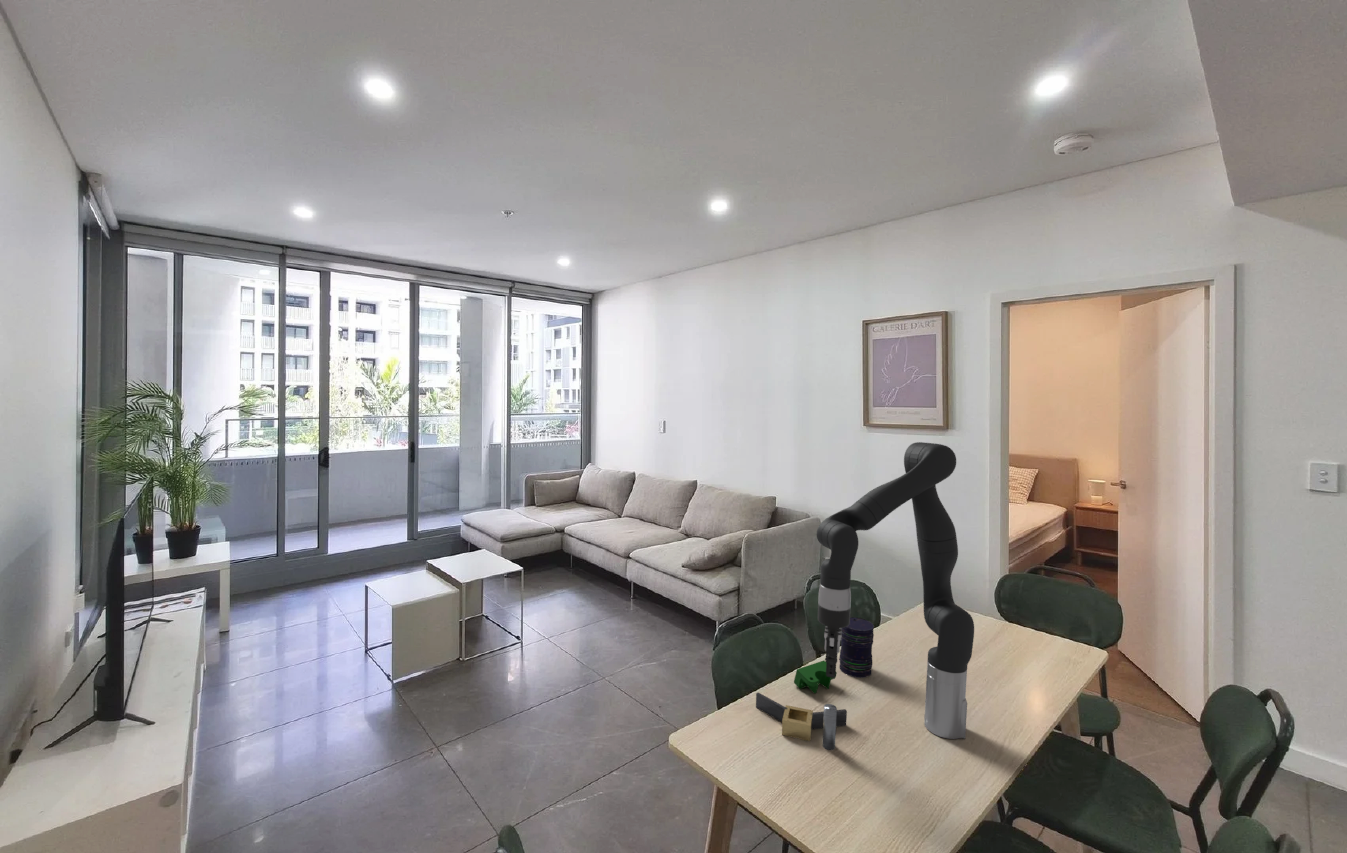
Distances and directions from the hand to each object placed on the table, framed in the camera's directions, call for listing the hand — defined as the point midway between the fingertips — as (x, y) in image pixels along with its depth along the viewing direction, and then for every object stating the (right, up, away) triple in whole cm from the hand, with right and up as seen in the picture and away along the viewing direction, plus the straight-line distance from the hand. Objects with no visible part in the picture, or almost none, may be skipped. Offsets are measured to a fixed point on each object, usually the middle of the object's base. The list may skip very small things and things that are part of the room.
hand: (831, 668), depth 134 cm
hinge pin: (0, -20, +1) cm, 20 cm away
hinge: (-6, -19, +9) cm, 22 cm away
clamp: (+3, -18, +28) cm, 34 cm away
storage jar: (+19, -18, +39) cm, 47 cm away
